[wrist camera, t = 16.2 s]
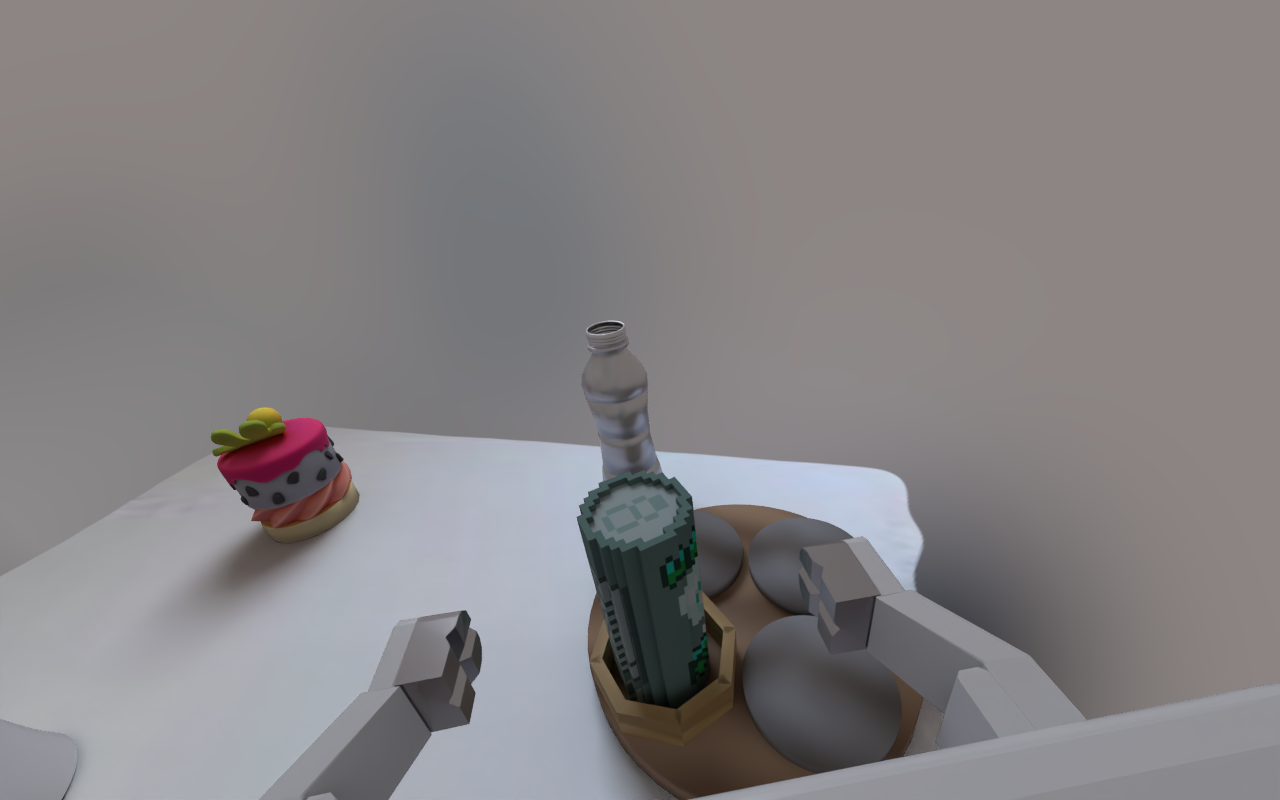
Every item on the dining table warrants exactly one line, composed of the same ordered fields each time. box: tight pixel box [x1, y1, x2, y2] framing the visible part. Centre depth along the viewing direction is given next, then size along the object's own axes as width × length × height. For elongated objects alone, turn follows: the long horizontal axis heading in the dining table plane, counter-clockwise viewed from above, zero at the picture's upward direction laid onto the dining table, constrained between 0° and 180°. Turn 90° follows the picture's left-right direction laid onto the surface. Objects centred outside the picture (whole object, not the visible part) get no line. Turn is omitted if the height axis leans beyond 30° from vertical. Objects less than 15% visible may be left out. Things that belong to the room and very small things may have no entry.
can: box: [577, 470, 710, 709], centre depth 29 cm, size 6×6×15 cm
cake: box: [211, 407, 359, 543], centre depth 54 cm, size 10×10×15 cm
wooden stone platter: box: [588, 505, 923, 800], centre depth 35 cm, size 24×24×4 cm
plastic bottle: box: [581, 321, 663, 481], centre depth 47 cm, size 6×7×20 cm
